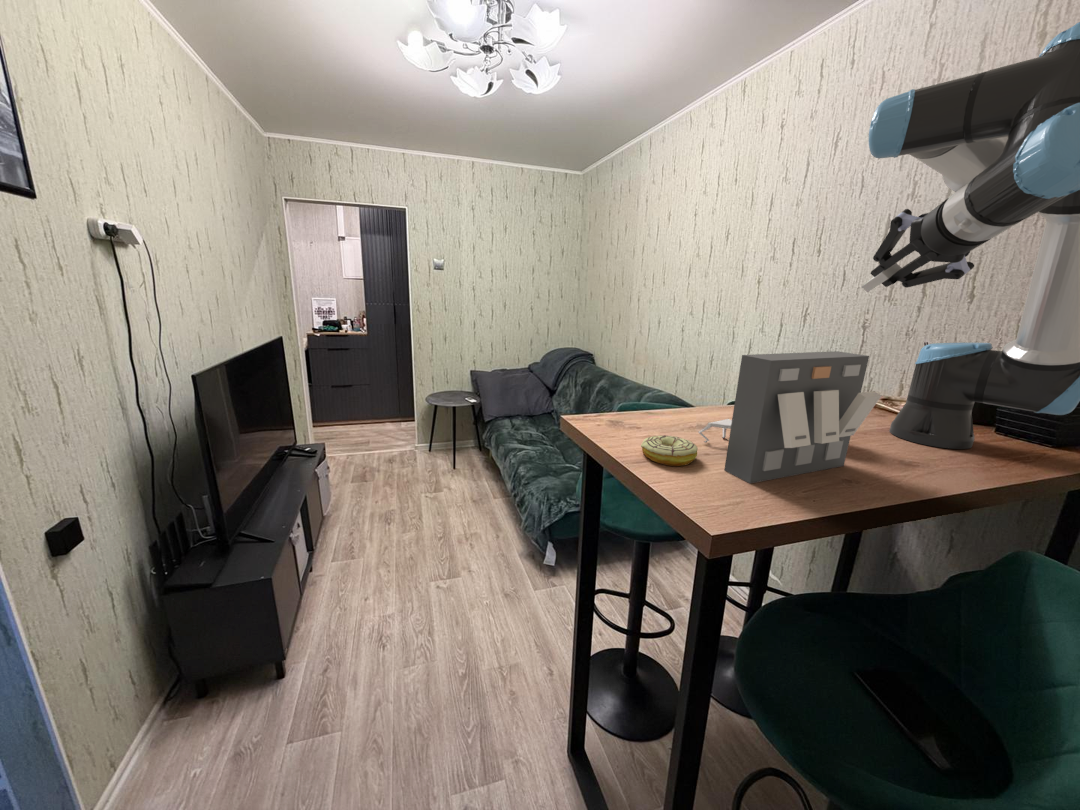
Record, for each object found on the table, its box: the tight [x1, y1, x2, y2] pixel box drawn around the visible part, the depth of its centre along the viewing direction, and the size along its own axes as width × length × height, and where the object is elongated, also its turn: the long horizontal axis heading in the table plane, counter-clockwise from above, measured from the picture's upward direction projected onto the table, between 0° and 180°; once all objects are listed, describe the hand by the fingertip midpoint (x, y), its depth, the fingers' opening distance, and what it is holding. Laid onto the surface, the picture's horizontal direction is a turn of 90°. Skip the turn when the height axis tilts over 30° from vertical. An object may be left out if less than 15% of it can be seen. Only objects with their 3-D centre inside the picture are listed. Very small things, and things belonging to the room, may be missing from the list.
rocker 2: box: [839, 390, 882, 437], centre depth 79 cm, size 2×4×9 cm, turn 112°
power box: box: [724, 350, 870, 484], centre depth 81 cm, size 6×25×22 cm, turn 112°
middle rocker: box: [814, 390, 839, 444], centre depth 75 cm, size 2×4×9 cm, turn 112°
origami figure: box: [698, 418, 732, 443], centre depth 96 cm, size 12×8×5 cm
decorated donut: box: [640, 435, 699, 467], centre depth 87 cm, size 10×11×4 cm
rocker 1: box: [778, 392, 811, 448], centre depth 72 cm, size 2×4×9 cm, turn 112°
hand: (870, 284), depth 80 cm, fingers closed
